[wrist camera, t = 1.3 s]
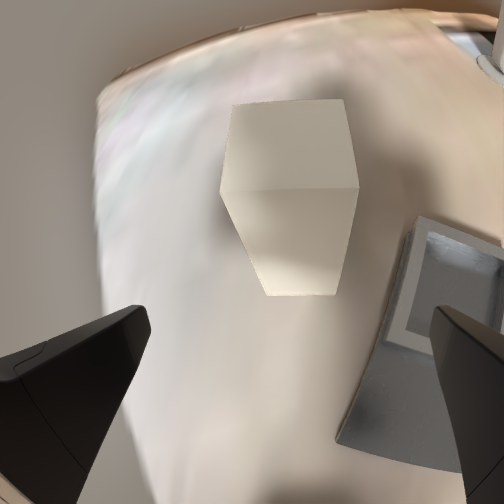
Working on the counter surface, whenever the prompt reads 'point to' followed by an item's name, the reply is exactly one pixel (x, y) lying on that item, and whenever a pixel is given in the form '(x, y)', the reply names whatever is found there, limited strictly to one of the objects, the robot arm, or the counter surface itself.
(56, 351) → the robot arm
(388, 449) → the bracket plate
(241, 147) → the cream rectangular prism
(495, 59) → the wireless router
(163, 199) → the counter surface
